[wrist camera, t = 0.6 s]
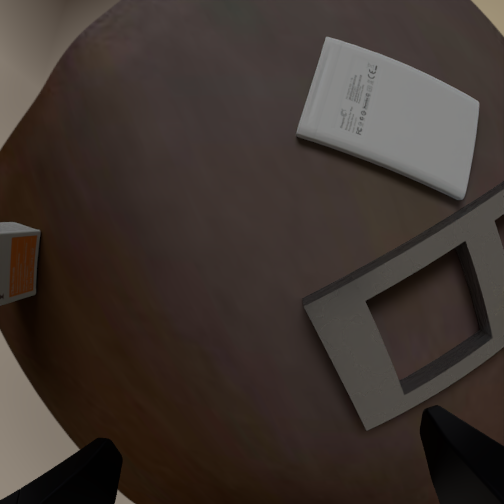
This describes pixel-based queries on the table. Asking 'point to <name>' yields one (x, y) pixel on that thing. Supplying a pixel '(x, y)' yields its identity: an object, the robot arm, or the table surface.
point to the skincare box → (18, 261)
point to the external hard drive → (391, 117)
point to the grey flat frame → (388, 274)
